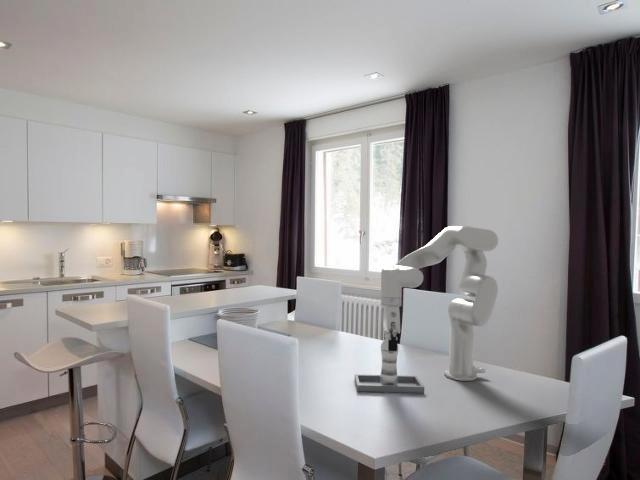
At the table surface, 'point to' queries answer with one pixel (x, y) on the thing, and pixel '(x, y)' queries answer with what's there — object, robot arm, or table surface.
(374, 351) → the table surface
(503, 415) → the table surface
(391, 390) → the grey rectangular tray
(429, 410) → the table surface
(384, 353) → the plastic bottle
